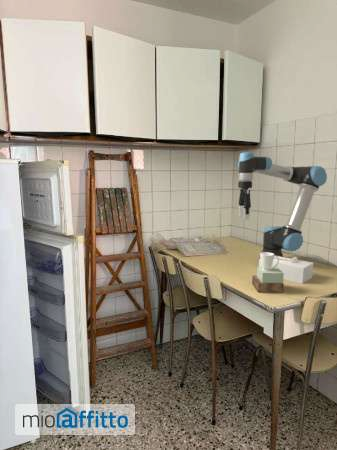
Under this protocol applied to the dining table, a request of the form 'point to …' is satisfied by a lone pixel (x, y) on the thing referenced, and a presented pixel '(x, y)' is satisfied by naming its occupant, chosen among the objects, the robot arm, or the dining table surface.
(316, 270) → the dining table surface
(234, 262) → the dining table surface
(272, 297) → the dining table surface
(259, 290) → the walnut block
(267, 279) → the sage block
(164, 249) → the dining table surface
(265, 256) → the cup
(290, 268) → the elongated white prism
